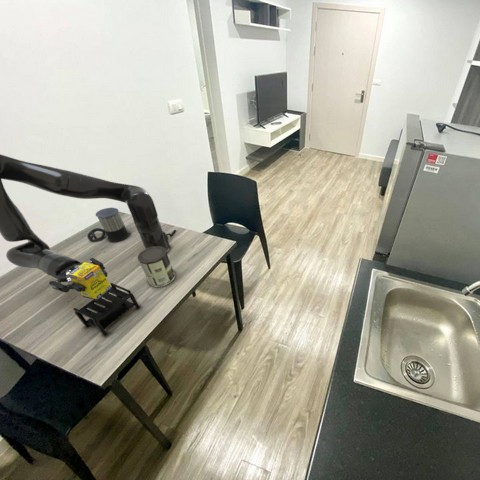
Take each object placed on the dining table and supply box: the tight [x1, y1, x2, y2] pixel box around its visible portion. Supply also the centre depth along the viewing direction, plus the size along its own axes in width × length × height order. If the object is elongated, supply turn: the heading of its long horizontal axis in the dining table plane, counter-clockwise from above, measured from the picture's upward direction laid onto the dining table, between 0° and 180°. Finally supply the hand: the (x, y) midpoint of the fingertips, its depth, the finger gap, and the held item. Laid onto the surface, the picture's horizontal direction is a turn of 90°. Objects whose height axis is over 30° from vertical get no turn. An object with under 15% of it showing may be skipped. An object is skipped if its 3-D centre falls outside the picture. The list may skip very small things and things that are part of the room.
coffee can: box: [136, 246, 176, 288], centre depth 110 cm, size 10×10×14 cm
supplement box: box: [68, 261, 112, 300], centre depth 86 cm, size 6×6×11 cm
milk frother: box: [86, 207, 130, 243], centre depth 129 cm, size 14×16×15 cm
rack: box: [72, 282, 141, 337], centre depth 94 cm, size 14×10×10 cm
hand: (95, 281), depth 85 cm, fingers closed on supplement box, 6 cm apart
